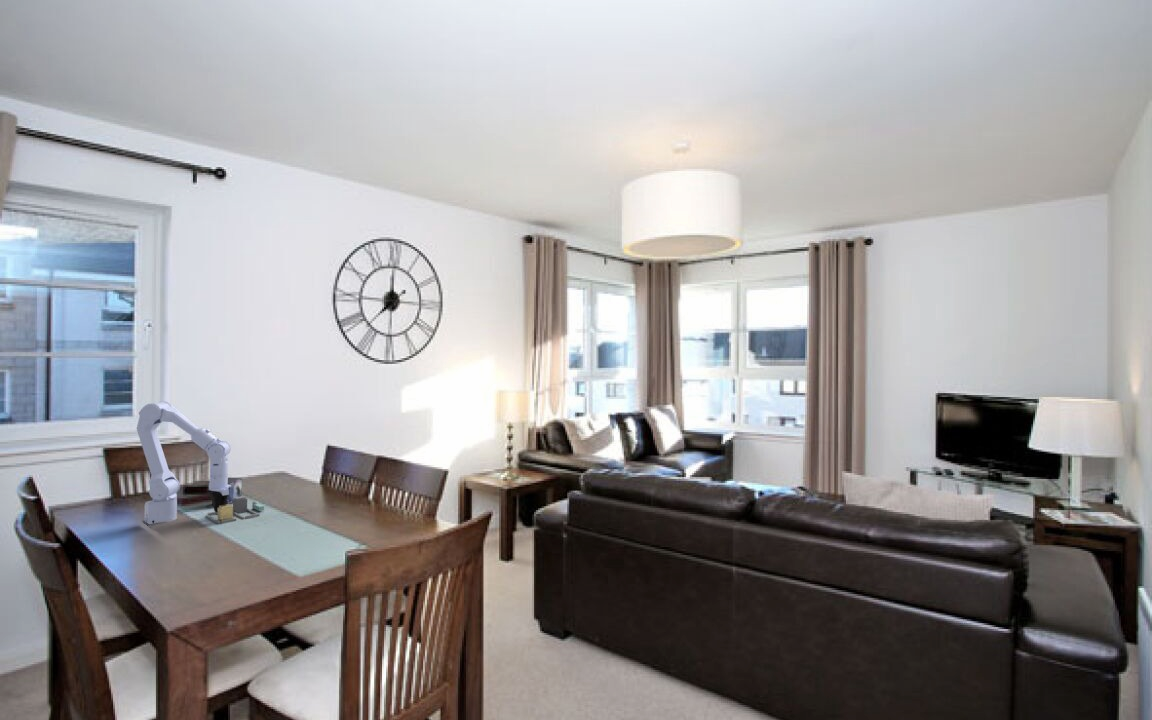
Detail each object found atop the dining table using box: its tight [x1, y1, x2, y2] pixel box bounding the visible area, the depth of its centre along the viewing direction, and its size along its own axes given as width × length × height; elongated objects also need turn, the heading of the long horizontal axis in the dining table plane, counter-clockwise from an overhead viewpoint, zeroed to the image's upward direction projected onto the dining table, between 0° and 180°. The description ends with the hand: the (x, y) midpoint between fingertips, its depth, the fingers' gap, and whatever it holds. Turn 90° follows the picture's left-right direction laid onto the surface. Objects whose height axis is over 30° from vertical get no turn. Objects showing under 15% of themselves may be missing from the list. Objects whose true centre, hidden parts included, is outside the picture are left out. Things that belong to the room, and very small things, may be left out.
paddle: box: [251, 501, 265, 512], centre depth 226 cm, size 2×7×3 cm, turn 49°
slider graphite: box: [232, 495, 248, 514], centre depth 224 cm, size 4×3×6 cm
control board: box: [205, 507, 261, 525], centre depth 219 cm, size 22×16×2 cm
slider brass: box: [216, 504, 234, 522], centre depth 212 cm, size 4×3×6 cm
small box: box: [211, 476, 243, 506], centre depth 238 cm, size 11×6×10 cm, turn 179°
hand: (218, 511), depth 216 cm, fingers closed
